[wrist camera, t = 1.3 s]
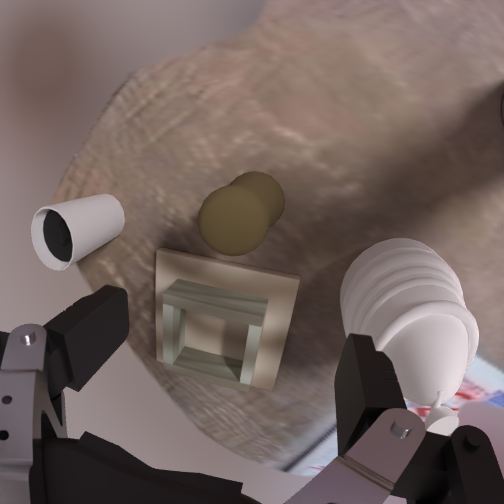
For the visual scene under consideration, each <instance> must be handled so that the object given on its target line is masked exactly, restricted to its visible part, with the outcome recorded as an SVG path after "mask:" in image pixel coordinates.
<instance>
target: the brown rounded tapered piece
mask: <svg viewBox="0 0 504 504" xmlns="http://www.w3.org/2000/svg"><path fill="white" fill-rule="evenodd" d="M284 202H285V200H284V194H283V191H282V189H281V187H280V185H279V184H278V183H277V182H276V181H275V180H274V179H273V178H272V177H271V176H269V175H267V174H265V173H261V172H248V173H244V174H242V175H241V176H239V177H237V178H236V179H235V180H234V181H233V182H232V183H231V184H230V186H226V187H222V188H219V189H218V190H216V191H214V192H212V193H211V194H210V195H209V196H208V197H207V198H206V199H205V200H204V202H203V204H202V207H201V209H200V211H199V217H198V225H199V230H200V234H201V235H202V237H203V239H204V241H205V242H206V243H207V244H208V245H209V246H210V247H211V248H212V249H213V250H215V251H217V252H218V253H220V254H223V255H228V256H239V255H244V254H246V253H249V252H251V251H253V250H255V249H256V248H257V247H258V246H259V245H260V244H261V243H262V241H263V239H264V237H265V235H266V233H267V231H268V228H269V227H270V226H272V225H273V224H274V223H275V222H276V221H277V220H278V219H279V218H280V216H281V214H282V212H283V209H284Z"/></svg>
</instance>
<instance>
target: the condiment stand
mask: <svg viewBox="0 0 504 504" xmlns="http://www.w3.org/2000/svg"><path fill="white" fill-rule="evenodd" d="M299 282H300V276H299V275H294V274H289V273H284V272H279V271H274V270H269V269H264V268H259V267H254V266H249V265H244V264H239V263H234V262H229V261H224V260H219V259H215V258H210V257H205V256H200V255H195V254H191V253H186V252H181V251H176V250H172V249H167V248H162V247H161V248H159V249H158V250H157V253H156V353H157V361H160V362H163V368H164V369H165V370H168V371H171V372H175V373H178V374H181V375H185V376H188V377H192V378H195V379H199V380H202V381H206V382H210V383H213V384H217V385H221V386H225V387H229V388H233V389H237V390H242V391H246V392H249V389H250V386H253V387H257V388H262V389H267V390H272V391H273V388H274V384H275V380H276V377H277V373H278V369H279V365H280V361H281V357H282V353H283V349H284V346H285V341H286V337H287V333H288V329H289V325H290V321H291V317H292V312H293V308H294V304H295V300H296V295H297V291H298V286H299Z"/></svg>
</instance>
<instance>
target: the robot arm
mask: <svg viewBox="0 0 504 504" xmlns="http://www.w3.org/2000/svg"><path fill="white" fill-rule="evenodd" d="M502 118H503V122H504V97H503V101H502ZM128 333H129V312H128V296H127V292H126V290H125V289H123V288H119V287H115V286H111V285H105V286H103V287H102V288H101V289H99V290H98V291H96V292H95V293H94V294H91V295H88V296H86V297H83V298H81V299H79V300H78V301H77V302H75V303H74V304H73V305H72V306H69V307H68V308H67V309H66V311H63V312H61V313H60V314H58V315H57V316H56V317H54V318H53V319H52V320H50V321H49V322H48V323H47V324H45V325H44V326H40V325H37V324H24V325H21V326H19V327H17V328H15V329H14V330H12V332H11V333H7V332H2V331H0V504H261V503H260V502H258V501H256V500H254V499H252V498H251V497H249V496H246V495H244V494H242V493H241V489H242V485H243V483H241V482H236V481H232V480H227V479H222V478H218V477H213V476H209V475H205V474H202V473H191V472H180V471H169V470H160V469H155V468H152V467H150V466H148V465H146V464H145V463H144V462H142V461H140V460H139V459H137V458H136V457H134V456H133V455H131V454H130V453H128V452H127V451H125V450H124V449H123V448H121V447H120V446H118V445H115V444H113V443H111V442H108V441H106V440H104V439H102V438H99V437H97V436H95V435H93V434H91V433H89V432H87V431H85V432H84V434H83V435H82V436H81V438H80V439H79V440H78V439H71V438H68V436H67V427H66V415H65V397H64V393H63V389H64V388H65V387H66V386H67V387H69V388H71V389H73V390H75V391H77V392H79V391H80V390H81V389H82V387H83V386H84V385H85V384H86V383H87V382H88V381H89V379H90V378H91V377H92V376H93V375H94V374H95V373H96V372H97V371H98V370H99V368H100V367H101V366H102V365H103V364H104V363H105V362H106V361H107V360H108V359H109V357H110V356H111V355H112V354H113V353H114V352H115V351H116V350H117V349H118V347H120V345H121V344H122V343H123V342H124V341H125V340H126V338H127V336H128ZM334 388H335V402H336V419H337V441H338V456H337V457H336V458H335V459H334V460H333V461H332V462H330V463H329V464H328V465H327V466H326V467H325V468H324V469H323V470H322V471H321V472H320V473H319V474H318V475H316V476H315V477H314V478H313V479H312V480H311V481H310V482H309V483H307V484H306V485H305V486H304V487H303V488H302V489H301V490H300V491H298V492H297V493H296V494H295V495H293V496H292V497H291V498H290V499H288V500H287V501H286V502H285V503H283V504H383V502H384V501H385V500H386V499H387V497H388V496H389V495H393V496H397V497H401V498H406V500H407V504H504V479H503V476H502V473H501V470H500V467H499V464H498V461H497V458H496V455H495V453H494V450H493V447H492V445H491V442H490V440H489V438H488V436H487V435H486V434H485V433H484V432H483V431H482V430H480V429H479V428H477V427H474V426H470V425H464V426H460V427H458V428H456V429H455V430H454V432H453V433H452V435H451V436H450V437H449V436H445V435H441V434H437V433H433V432H429V431H426V428H425V424H424V422H423V421H422V419H421V418H420V417H419V416H418V415H416V414H415V413H413V412H411V411H409V410H407V407H406V404H405V400H404V397H403V394H402V391H401V388H400V384H399V382H398V378H397V375H396V373H395V369H394V366H393V363H392V361H391V360H390V359H389V357H388V356H387V355H386V354H385V353H384V352H383V351H376V349H375V346H374V342H373V339H372V337H371V336H370V335H362V334H354V333H350V334H349V335H348V337H347V340H346V343H345V346H344V349H343V352H342V355H341V358H340V361H339V364H338V367H337V371H336V375H335V383H334Z"/></svg>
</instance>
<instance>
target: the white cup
mask: <svg viewBox="0 0 504 504" xmlns="http://www.w3.org/2000/svg"><path fill="white" fill-rule="evenodd" d="M124 222H125V219H124V211H123V209H122V207H121V205H120V203H119V202H118V201H117V199H116V198H115V197H113V196H111V195H109V194H99V195H94V196H90V197H85V198H80V199H76V200H71V201H67V202H62V203H58V204H54V205H50V206H45V207H42V208H41V209H40V210H38V211H37V212H36V213H35V216H34V218H33V221H32V230H31V235H32V240H33V246H34V248H35V250H36V252H37V254H38V257H39V258H40V259H41V260H42V261H43V263H44V264H45V265H46V266H48V267H49V268H51V269H52V270H56V271H62V270H64V269H66V268H67V267H69V266H70V265H72V264H74V263H75V262H77V261H78V260H80V259H81V258H83V257H85V256H86V255H88V254H89V253H91V252H92V251H94V250H96V249H97V248H99V247H100V246H102V245H104V244H105V243H107V242H109V241H110V240H112V239H114V238H115V237H117V236H119V234H120V233H121V231H122V230H123V226H124Z"/></svg>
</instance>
